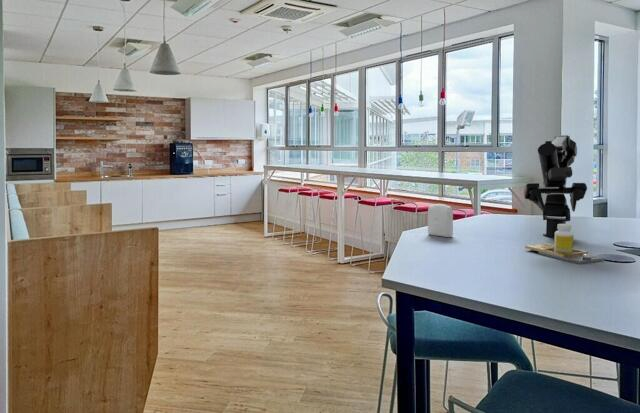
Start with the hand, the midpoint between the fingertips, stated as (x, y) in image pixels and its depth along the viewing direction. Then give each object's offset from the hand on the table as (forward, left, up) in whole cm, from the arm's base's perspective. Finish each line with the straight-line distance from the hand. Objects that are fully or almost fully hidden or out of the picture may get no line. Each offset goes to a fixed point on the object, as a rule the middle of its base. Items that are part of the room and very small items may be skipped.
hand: (558, 210), depth 172 cm
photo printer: (-17, +41, -13) cm, 47 cm away
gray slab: (-4, -6, -13) cm, 15 cm away
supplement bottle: (-4, -6, -13) cm, 15 cm away
